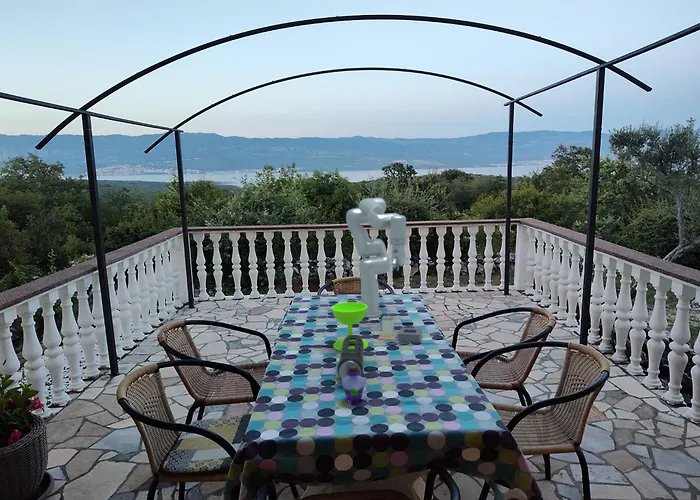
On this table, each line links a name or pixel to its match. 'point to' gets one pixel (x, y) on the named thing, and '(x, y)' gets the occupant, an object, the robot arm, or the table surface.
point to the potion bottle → (353, 384)
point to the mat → (388, 337)
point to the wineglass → (349, 319)
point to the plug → (387, 326)
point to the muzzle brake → (351, 355)
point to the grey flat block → (410, 334)
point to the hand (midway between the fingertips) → (397, 276)
